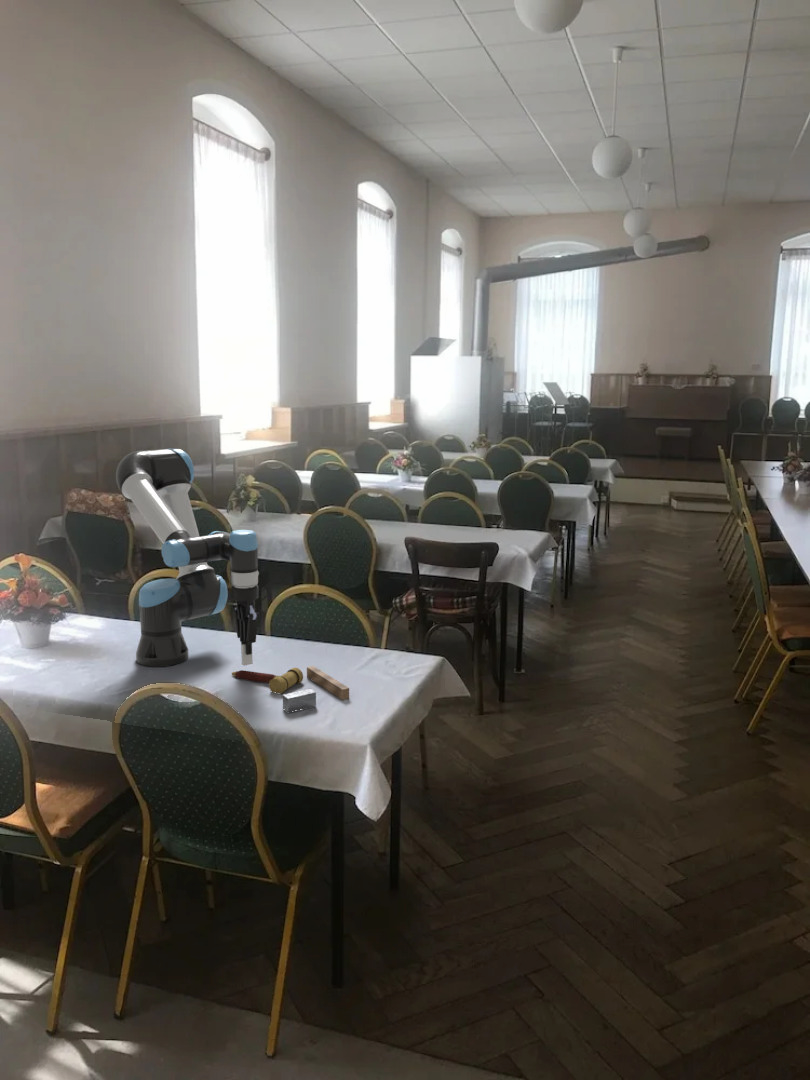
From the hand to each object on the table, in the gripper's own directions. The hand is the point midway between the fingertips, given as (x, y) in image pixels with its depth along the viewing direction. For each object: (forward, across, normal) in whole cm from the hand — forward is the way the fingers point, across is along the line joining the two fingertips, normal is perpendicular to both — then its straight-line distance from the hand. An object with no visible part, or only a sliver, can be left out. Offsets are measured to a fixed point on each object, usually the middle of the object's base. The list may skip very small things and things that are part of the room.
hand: (247, 663), depth 246 cm
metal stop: (+2, -32, 0) cm, 32 cm away
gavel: (+3, -10, 0) cm, 11 cm away
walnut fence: (+2, -24, -13) cm, 27 cm away
